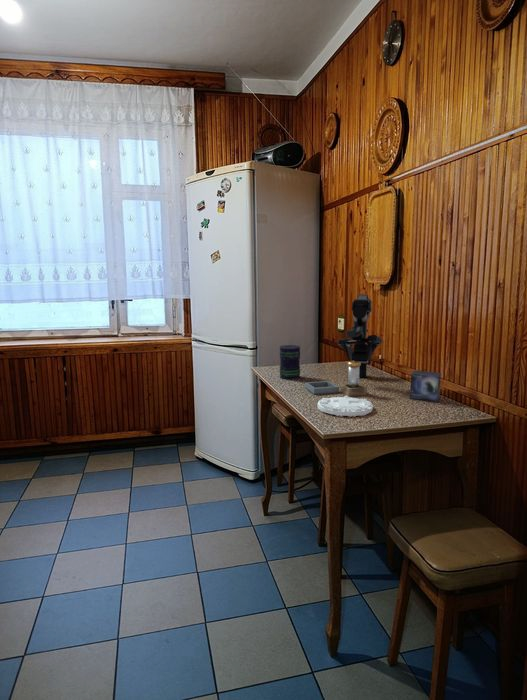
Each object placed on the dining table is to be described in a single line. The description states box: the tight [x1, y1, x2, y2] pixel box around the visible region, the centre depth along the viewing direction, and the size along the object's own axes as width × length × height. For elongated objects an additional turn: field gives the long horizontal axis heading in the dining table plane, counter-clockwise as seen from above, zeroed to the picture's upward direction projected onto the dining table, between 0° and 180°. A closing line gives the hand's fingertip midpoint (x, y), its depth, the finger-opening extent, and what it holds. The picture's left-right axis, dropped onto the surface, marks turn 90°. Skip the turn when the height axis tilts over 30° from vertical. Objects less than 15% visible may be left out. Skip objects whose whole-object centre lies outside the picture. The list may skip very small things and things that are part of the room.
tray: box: [304, 380, 340, 396], centre depth 199 cm, size 11×11×2 cm
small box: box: [409, 370, 442, 403], centre depth 184 cm, size 11×6×10 cm, turn 62°
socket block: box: [340, 383, 368, 397], centre depth 194 cm, size 8×8×3 cm
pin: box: [346, 360, 361, 388], centre depth 193 cm, size 5×5×13 cm
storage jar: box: [279, 344, 301, 381], centre depth 223 cm, size 10×10×15 cm
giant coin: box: [317, 395, 374, 418], centre depth 172 cm, size 20×20×3 cm
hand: (358, 360), depth 203 cm, fingers open, 9 cm apart
